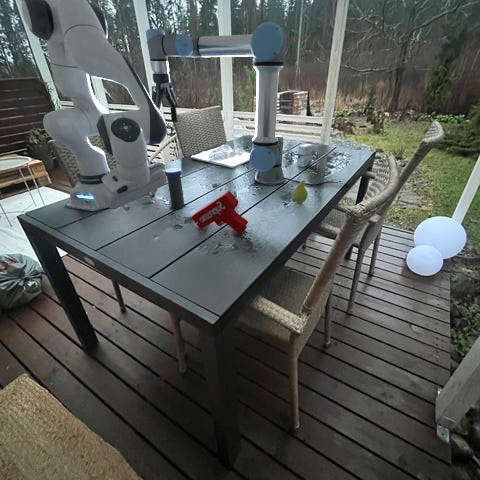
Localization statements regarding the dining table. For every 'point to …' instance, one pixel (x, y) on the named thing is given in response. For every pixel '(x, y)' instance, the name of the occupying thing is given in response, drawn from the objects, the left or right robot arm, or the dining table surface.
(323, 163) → the dining table surface
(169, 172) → the lid
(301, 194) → the fruit
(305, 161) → the ink box
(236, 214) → the toy gun
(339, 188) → the dining table surface
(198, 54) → the right robot arm
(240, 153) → the relief map
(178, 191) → the jar
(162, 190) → the dining table surface
